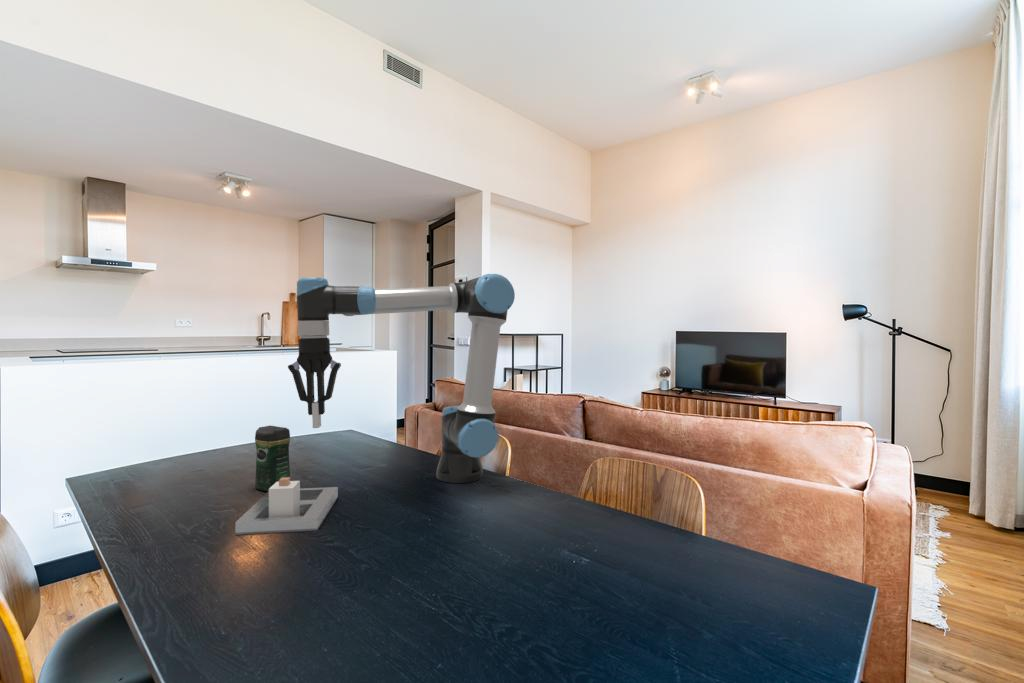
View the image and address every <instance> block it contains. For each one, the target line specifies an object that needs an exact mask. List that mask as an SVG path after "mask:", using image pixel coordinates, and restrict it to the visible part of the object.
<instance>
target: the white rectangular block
mask: <svg viewBox="0 0 1024 683" xmlns="http://www.w3.org/2000/svg"><path fill="white" fill-rule="evenodd" d="M300 489H301V481H300V480H291V476H290V477H285V478H281V479H280V480H279V482H276V483H275V484H274V485H273V486H271V487H270V488H269V491H268V492H269V518H280V517H299V516H300Z"/></svg>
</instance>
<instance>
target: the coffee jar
mask: <svg viewBox="0 0 1024 683" xmlns="http://www.w3.org/2000/svg"><path fill="white" fill-rule="evenodd" d="M290 441H291V434H290V429H289V428H288V427H283V426H275V425H266V426H260V427H258V428H257V429H256V431H255V436H254V442H255V448H256V463H255V481H254V482H255V485H254V486H255V488H256V489H257V490H260V491H265V492H269V488H270V487H271V486H273V485H274V484H275V483H276V482H279V480H280V479H281V478H285V477H290V478H291V469H290V451H289V450H290V447H289V446H290Z"/></svg>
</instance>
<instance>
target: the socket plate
mask: <svg viewBox="0 0 1024 683" xmlns="http://www.w3.org/2000/svg"><path fill="white" fill-rule="evenodd" d="M338 498H339V486H330V487H328V486H325V487H305V488H301V487H300V516H299V517H280V518H269V491H266V493H265V494H263V496H261V498H260V499H259V500H258V501H256V503H255V504H254V505H252V506H251V507H250V508H249V509H248V510H246V512H245V513H243V515H242V516H240V517H239V519H237V520H236V521H235V536H240V535H241V536H242V535H244V536H245V535H257V534H258V535H260V534H276V533H277V534H279V533H280V534H281V533H296V532H299V533H300V532H313V531H314V532H315V531H319V528H320V527H321V525H323V522H324V520H325V519H326V517H327V515H328V514H329V513H330V511H331V509H332V508H333V506H334V505H335V503H336V501H337V499H338Z"/></svg>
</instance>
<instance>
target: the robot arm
mask: <svg viewBox="0 0 1024 683" xmlns="http://www.w3.org/2000/svg"><path fill="white" fill-rule="evenodd" d="M328 282H329V281H328V279H327V278H325V277H316V276H313V277H311V276H305V277H301V278H299V279H298V280H297V282H296V310H297V312H296V313H297V336H299V337H300V338H298V340H297V341H298V342H297V343H298V356H297V358H296V361H294V362H293V363H292V364H289V365H287V368H288V370H289V371H290V373H291V374H292V376H293V377H292V378H293V380H294V381H293V382H294V384H295V388H296V391H297V394H298V397H299V401H301V402H306V403H307V414H308V415H309V416H311V418H312V419H311V420H312V428H313V429H319V428H320V427H322V415H324V414H325V413H326V412H325V411H326V409H325V408H326V407H325V405H326V404H325V402H326V401H328V400H330V399H331V398H332V397H333V393H334V389H335V383H336V379H337V374H338V371H339V370H340V368H341V366H342V364H341V363H340V362H337V361H335V360H333V357H332V354H331V345H330V344H331V343H330V342H331V340H330V338H329V336H330V319H329V318H330V317H329V316H330V315H342V316H346V317H353V316H364V315H378V314H379V315H380V314H382V315H383V314H396V313H397V314H398V313H400V314H401V313H417V312H418V313H419V312H433V311H434V312H435V311H438V312H439V311H450V312H451V313H452V314H455V313H456V314H457V313H462V314H463V313H464V314H465V313H466V314H467V318H468V319H469V320H470V322H471V330H470V338H469V339H470V340H469V347H468V348H469V349H468V356H467V364H466V374H465V380H464V381H465V382H464V391H463V397H462V403H461V404H460V405H453V406H452V405H451V406H445V407H444V408H442V412H441V413H442V414H441V455H440V458H439V461H438V464H437V467H436V475H435V476H436V479H437V480H439V481H441V482H444V483H451V484H465V483H473V482H475V481H478V480H480V479H482V478H483V475H484V468H483V465H482V462H481V458H483V457H485V456H488V455H489V454H490V453H491V452H492V451H493V450H494V449H495V448H496V446H497V445H498V444H497V443H498V442H499V431H498V428H497V426H496V425H495V422H496V413H497V412H496V410H495V409H494V408H493V405H492V401H493V394H494V386H495V376H496V368H497V362H498V360H497V359H498V353H499V352H498V350H499V342H500V336H501V335H500V332H501V327H502V326H503V325H504V324H505V323H506V322H507V317H508V310H509V309H511V307H512V305H513V304H514V301H515V293H516V292H515V289H514V287H513V286H514V285H513V284H512V283H511V281H509V279H508V278H507V277H505V276H504V275H502V274H499V273H486V274H483V275H482V276H479V277H475V278H472V279H469V280H465V281H460V282H451V283H449V285H447V286H446V285H443V286H442V285H441V286H419V287H418V286H417V287H415V286H414V287H398V288H397V287H395V288H394V287H392V288H390V287H389V288H374V287H372V286H363V285H359V286H357V285H356V286H354V285H352V286H351V285H350V286H349V285H347V286H346V285H344V286H343V285H342V286H341V285H339V286H336V285H329V283H328ZM300 367H301V369H302V370H303V371H304V372H305V377H306V388H305V385H304V382H303V378H302V375H301V371H300ZM328 367H330V369H331V370H330V374H329V377H328V382H327V387H326V390H325V371H326V370H327V369H328ZM315 374H316V375H315ZM315 376H316V383H317V384H316V386H317V387H316V388H317V390H316V391H317V400H316V399H315V380H314V378H315ZM315 400H316V401H315Z"/></svg>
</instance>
